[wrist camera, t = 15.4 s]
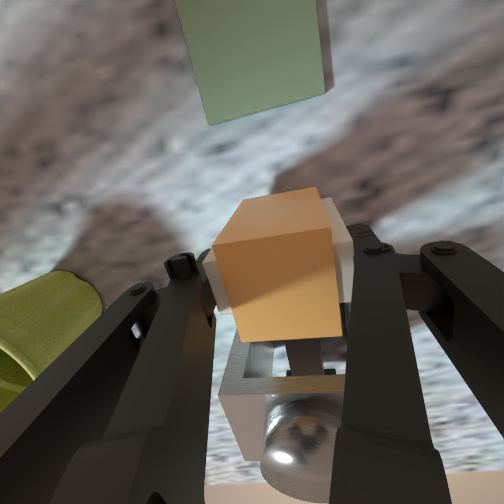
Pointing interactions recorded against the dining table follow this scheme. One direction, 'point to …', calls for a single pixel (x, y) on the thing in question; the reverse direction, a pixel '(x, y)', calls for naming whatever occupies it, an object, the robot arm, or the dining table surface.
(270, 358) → the housing
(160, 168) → the dining table surface
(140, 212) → the dining table surface
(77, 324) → the plant pot
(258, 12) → the mat
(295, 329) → the plug
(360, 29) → the dining table surface
